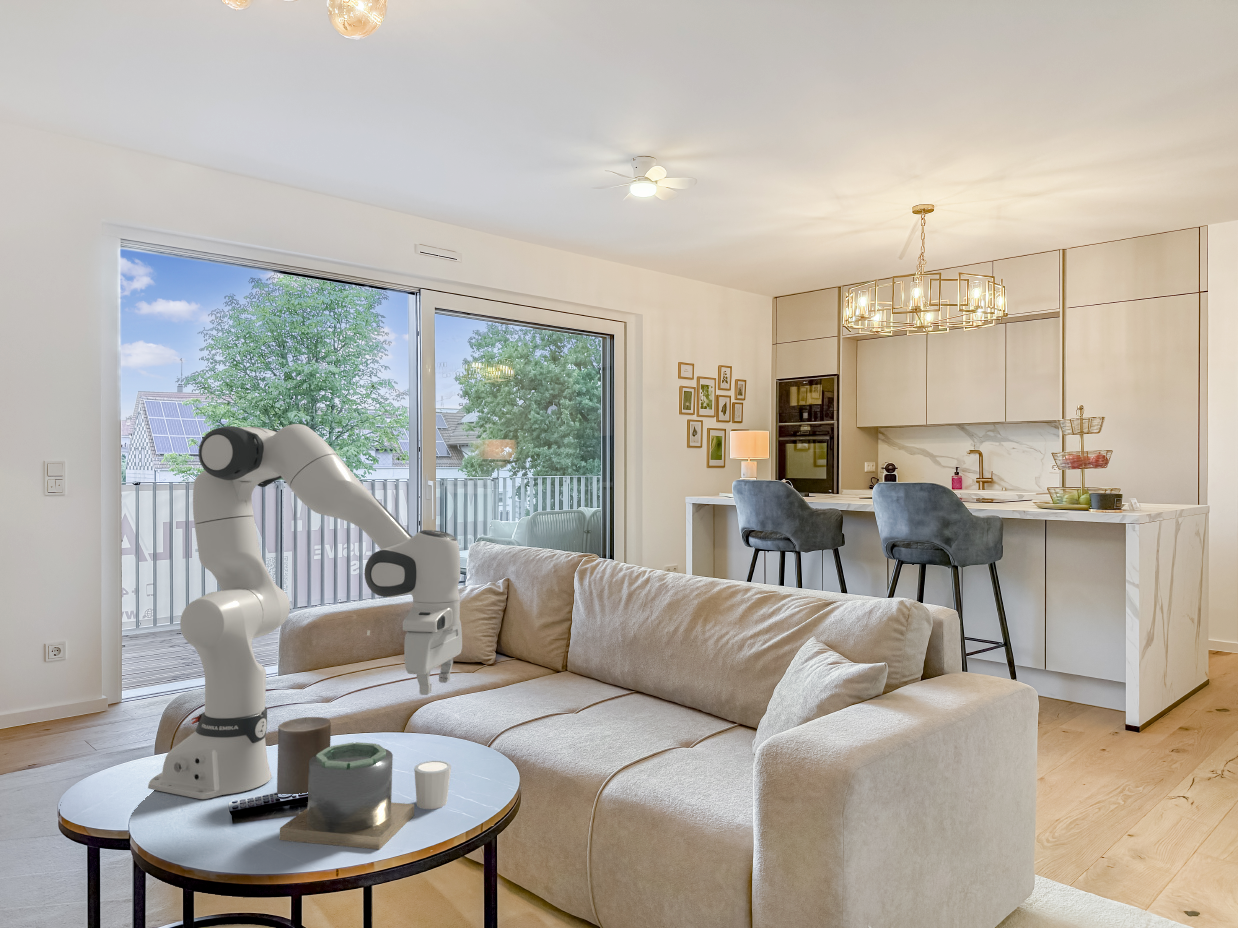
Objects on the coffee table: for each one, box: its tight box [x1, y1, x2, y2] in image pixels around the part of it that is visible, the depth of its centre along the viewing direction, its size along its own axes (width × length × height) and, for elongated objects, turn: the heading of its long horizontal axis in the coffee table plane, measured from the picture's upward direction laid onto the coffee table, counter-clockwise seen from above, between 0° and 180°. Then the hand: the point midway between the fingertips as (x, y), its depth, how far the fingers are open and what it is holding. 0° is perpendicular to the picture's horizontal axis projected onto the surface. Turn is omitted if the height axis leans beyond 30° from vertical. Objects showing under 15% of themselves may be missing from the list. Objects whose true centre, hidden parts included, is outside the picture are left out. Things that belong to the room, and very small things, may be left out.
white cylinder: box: [413, 760, 452, 810], centre depth 151 cm, size 7×7×7 cm
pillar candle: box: [276, 716, 332, 795], centre depth 154 cm, size 10×10×15 cm
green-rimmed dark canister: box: [279, 741, 415, 850], centre depth 140 cm, size 18×14×13 cm
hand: (435, 687), depth 152 cm, fingers open, 8 cm apart
